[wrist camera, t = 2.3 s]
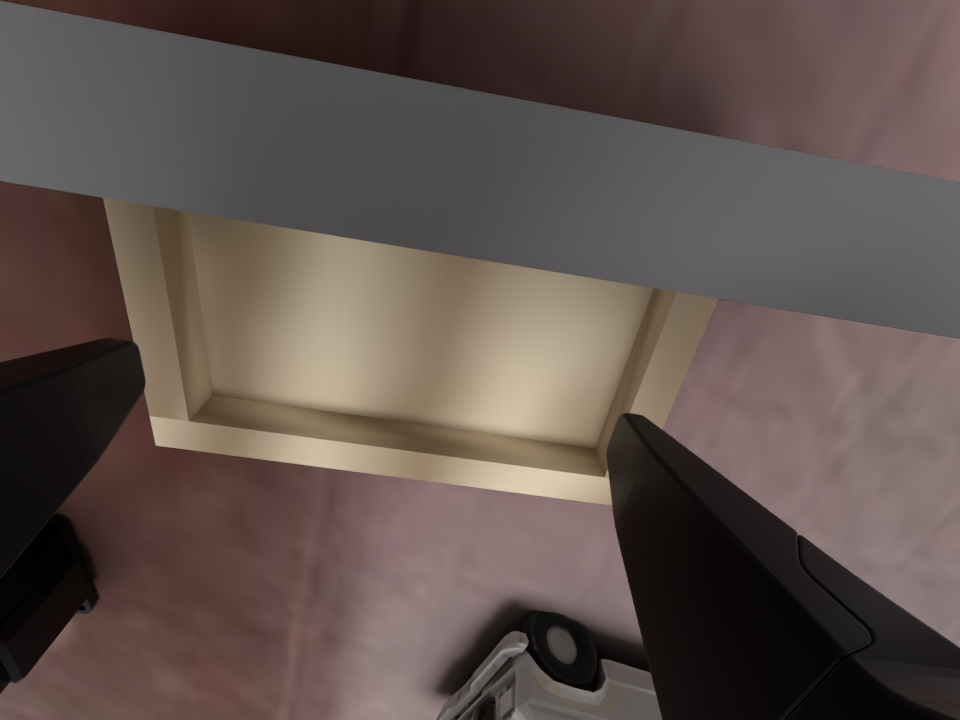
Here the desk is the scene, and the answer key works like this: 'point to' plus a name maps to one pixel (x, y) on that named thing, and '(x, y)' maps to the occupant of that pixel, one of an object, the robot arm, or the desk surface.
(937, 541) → the desk surface
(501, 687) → the toy car
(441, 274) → the tray
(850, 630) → the robot arm
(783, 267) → the panel
